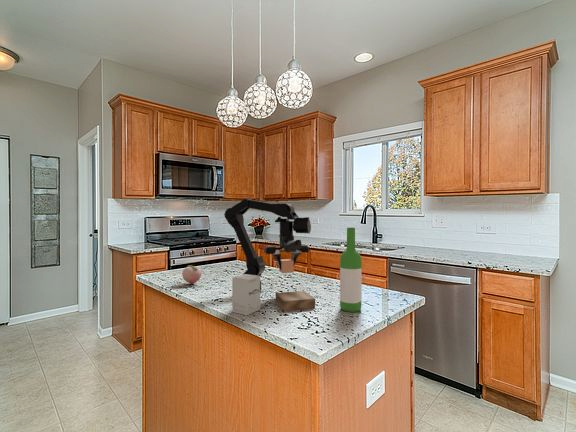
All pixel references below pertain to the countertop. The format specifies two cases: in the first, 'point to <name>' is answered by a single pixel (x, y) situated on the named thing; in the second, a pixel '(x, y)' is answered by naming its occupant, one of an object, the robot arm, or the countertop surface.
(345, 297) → the wine bottle
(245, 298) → the supplement box
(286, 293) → the walnut block
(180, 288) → the countertop surface
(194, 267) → the decorative fruit
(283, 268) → the terracotta cube
